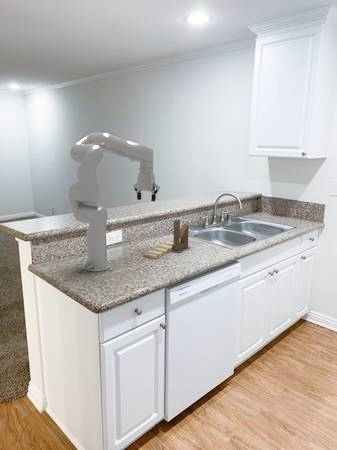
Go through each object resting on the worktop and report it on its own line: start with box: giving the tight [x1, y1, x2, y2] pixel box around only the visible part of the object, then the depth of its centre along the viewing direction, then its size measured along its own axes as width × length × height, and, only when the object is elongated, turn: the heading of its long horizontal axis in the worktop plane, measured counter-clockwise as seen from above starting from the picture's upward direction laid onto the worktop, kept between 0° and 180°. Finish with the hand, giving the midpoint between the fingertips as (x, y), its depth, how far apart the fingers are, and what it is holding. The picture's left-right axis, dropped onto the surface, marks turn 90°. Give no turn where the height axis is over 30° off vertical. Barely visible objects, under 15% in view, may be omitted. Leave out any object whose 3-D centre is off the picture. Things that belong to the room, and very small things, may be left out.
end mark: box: [170, 245, 190, 254], centre depth 203 cm, size 14×6×1 cm, turn 153°
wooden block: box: [172, 218, 190, 251], centre depth 201 cm, size 4×11×18 cm, turn 139°
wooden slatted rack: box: [142, 240, 174, 260], centre depth 199 cm, size 30×8×2 cm, turn 153°
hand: (146, 200), depth 198 cm, fingers open, 9 cm apart
